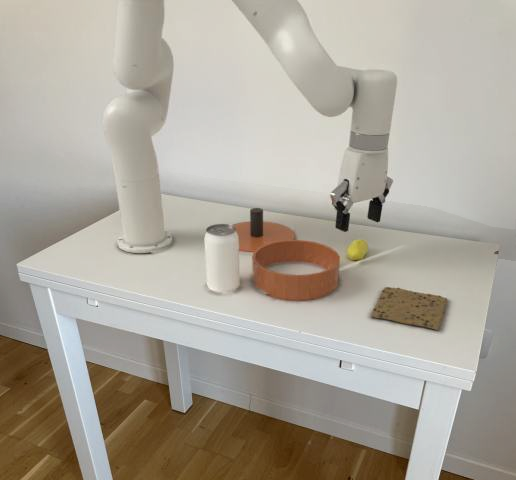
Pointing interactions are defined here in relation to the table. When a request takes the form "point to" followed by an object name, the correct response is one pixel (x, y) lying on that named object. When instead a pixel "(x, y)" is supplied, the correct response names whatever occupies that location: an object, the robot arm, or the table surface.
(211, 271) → the can
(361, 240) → the lemon
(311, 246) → the pot
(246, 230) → the lid
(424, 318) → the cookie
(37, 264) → the table surface
